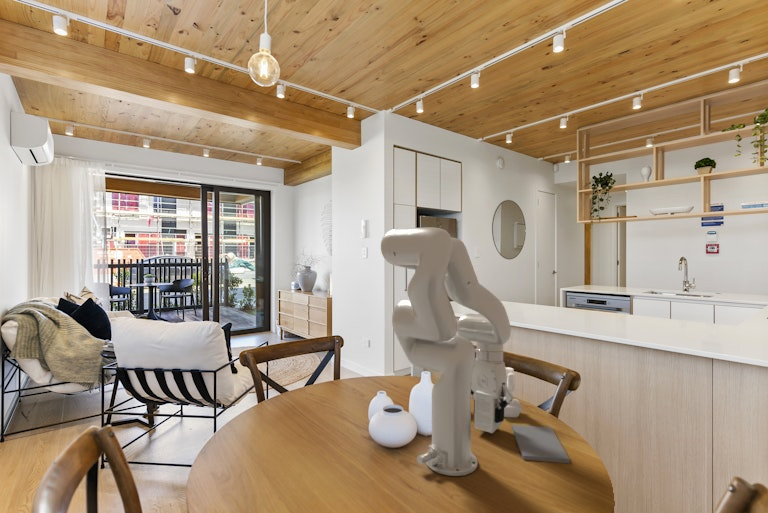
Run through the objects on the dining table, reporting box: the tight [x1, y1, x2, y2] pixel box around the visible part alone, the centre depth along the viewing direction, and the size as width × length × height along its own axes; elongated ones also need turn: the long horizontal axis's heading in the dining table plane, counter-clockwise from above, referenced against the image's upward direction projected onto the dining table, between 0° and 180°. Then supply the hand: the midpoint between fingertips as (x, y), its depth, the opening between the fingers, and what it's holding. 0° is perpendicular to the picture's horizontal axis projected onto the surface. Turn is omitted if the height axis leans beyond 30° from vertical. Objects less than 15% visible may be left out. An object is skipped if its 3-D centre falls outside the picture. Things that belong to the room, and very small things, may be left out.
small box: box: [474, 391, 503, 434], centre depth 114 cm, size 8×6×10 cm
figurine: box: [504, 366, 524, 418], centre depth 126 cm, size 7×9×15 cm
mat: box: [511, 424, 571, 464], centre depth 106 cm, size 18×11×1 cm, turn 171°
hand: (488, 416), depth 114 cm, fingers closed on small box, 6 cm apart
